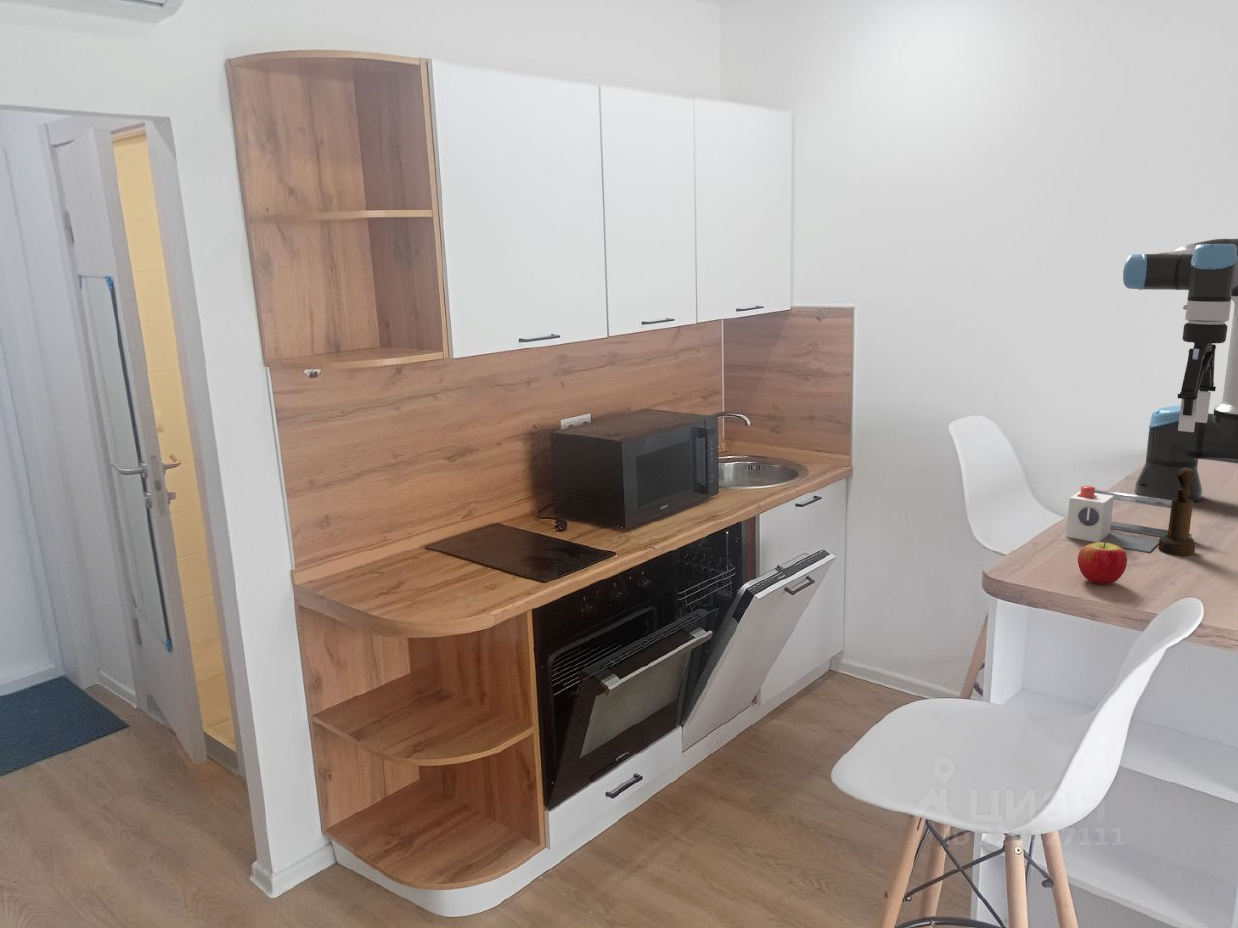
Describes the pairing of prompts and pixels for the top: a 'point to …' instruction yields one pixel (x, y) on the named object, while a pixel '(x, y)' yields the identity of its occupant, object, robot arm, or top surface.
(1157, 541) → the pad
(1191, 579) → the top surface
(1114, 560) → the apple
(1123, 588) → the top surface
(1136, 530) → the handrail
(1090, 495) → the button
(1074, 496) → the white dial box
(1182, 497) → the brown wooden tall piece
